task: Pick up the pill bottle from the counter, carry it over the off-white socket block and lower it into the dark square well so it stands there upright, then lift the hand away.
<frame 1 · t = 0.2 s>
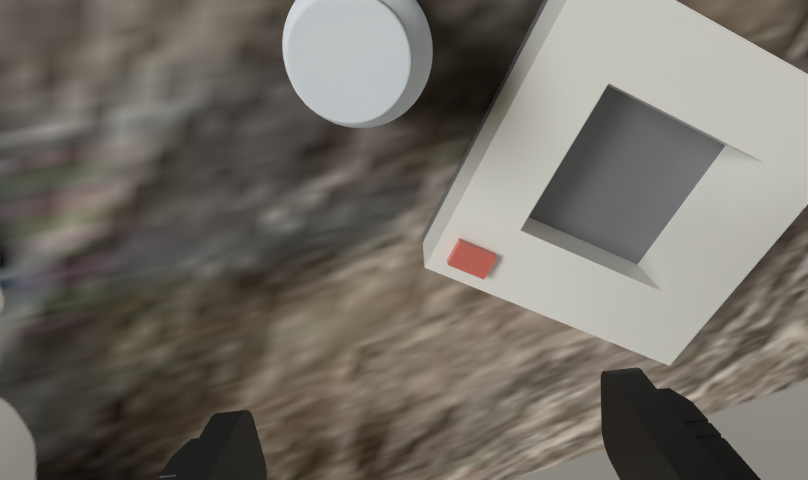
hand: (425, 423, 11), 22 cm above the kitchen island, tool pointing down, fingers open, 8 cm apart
socket block: (608, 172, 32), on the kitchen island
pill bottle: (370, 40, 29), on the kitchen island
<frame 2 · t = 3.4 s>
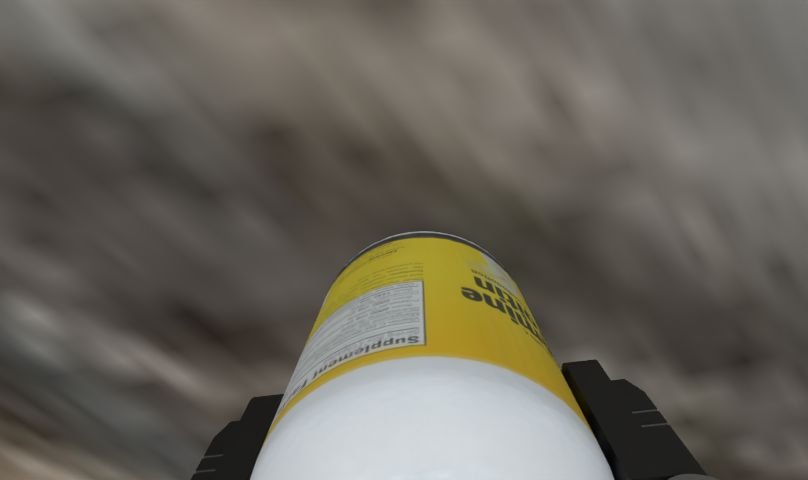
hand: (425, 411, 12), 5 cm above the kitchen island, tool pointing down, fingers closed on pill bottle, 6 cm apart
pill bottle: (422, 316, 16), on the kitchen island, touching gripper
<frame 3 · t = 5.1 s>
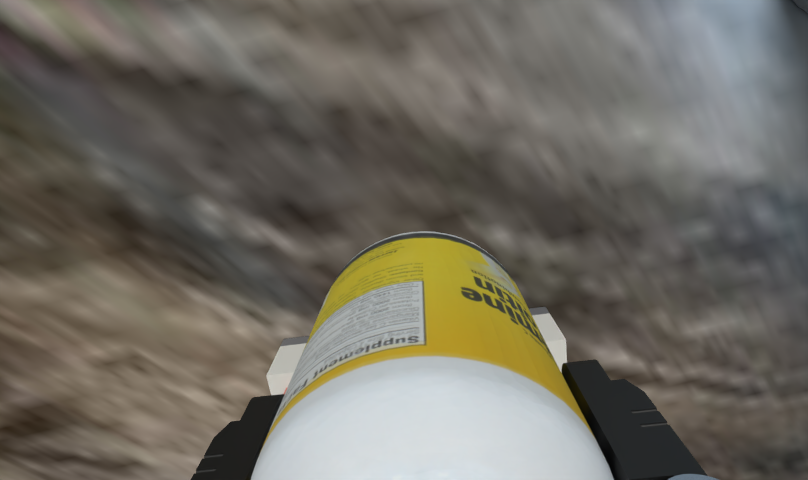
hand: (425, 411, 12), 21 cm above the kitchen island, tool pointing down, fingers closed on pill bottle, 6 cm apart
socket block: (429, 432, 36), on the kitchen island
pill bottle: (422, 316, 16), point 16 cm above the kitchen island, touching gripper
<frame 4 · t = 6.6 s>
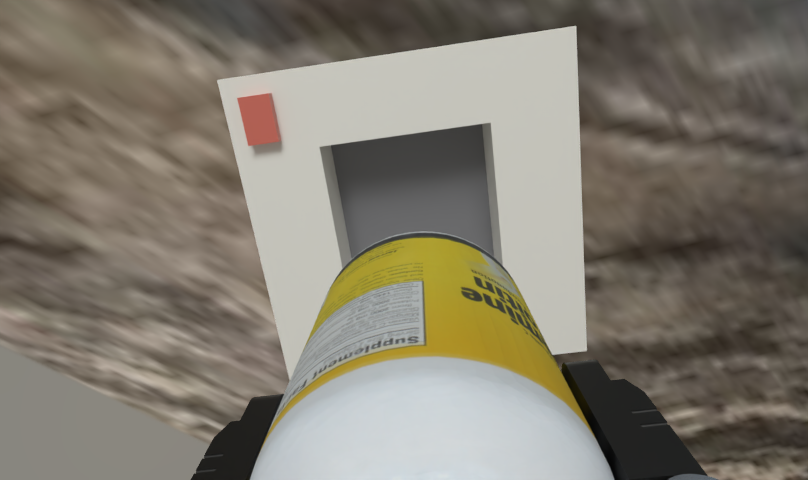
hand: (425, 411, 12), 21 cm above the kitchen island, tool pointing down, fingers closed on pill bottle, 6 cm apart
socket block: (416, 206, 31), on the kitchen island
pill bottle: (422, 316, 16), point 16 cm above the kitchen island, touching gripper
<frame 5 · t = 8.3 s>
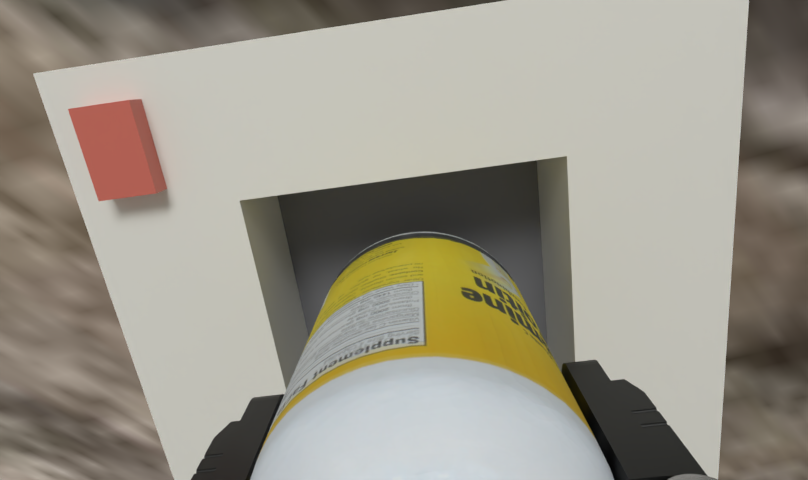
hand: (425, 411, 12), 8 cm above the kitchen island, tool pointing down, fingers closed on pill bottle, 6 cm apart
socket block: (420, 283, 19), on the kitchen island
pill bottle: (422, 316, 16), point 3 cm above the kitchen island, touching gripper
when the fingers open (6 cm above the kitchen island, at t = 9.7 s): pill bottle stays where it is, resting on socket block.
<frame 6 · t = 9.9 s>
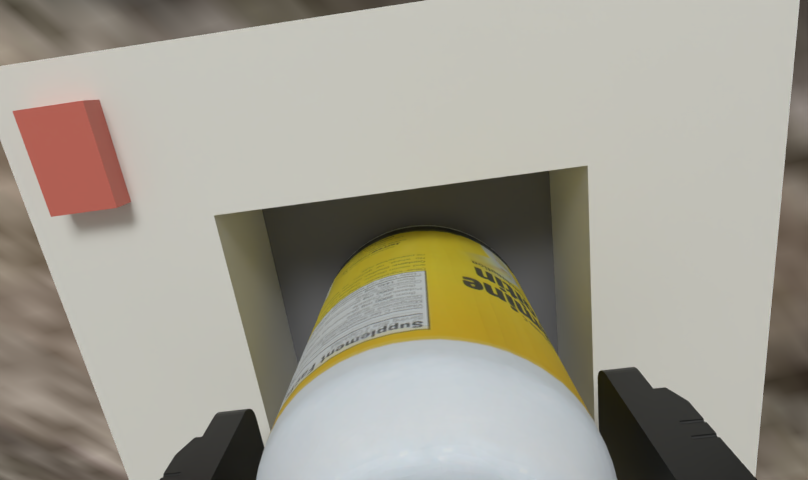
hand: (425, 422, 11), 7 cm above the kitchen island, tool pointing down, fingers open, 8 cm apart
socket block: (420, 301, 18), on the kitchen island
pill bottle: (423, 308, 17), point 1 cm above the kitchen island, touching socket block
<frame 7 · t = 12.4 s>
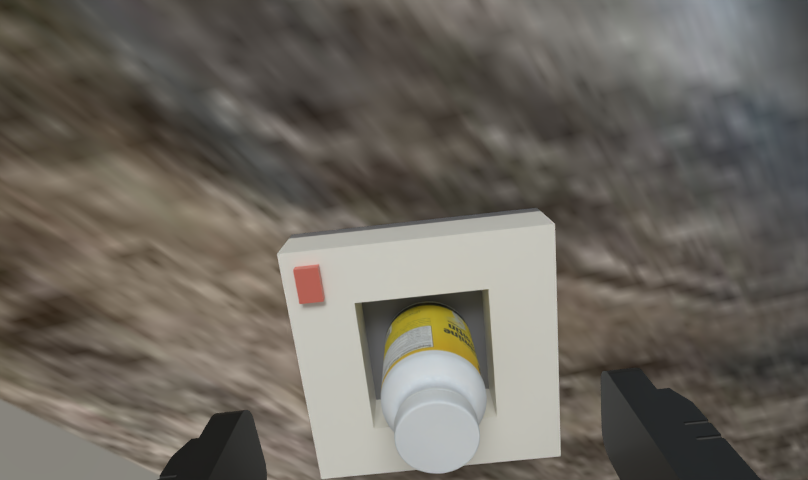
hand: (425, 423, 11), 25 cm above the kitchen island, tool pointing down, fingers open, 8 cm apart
socket block: (425, 331, 39), on the kitchen island
pill bottle: (427, 335, 38), point 1 cm above the kitchen island, touching socket block
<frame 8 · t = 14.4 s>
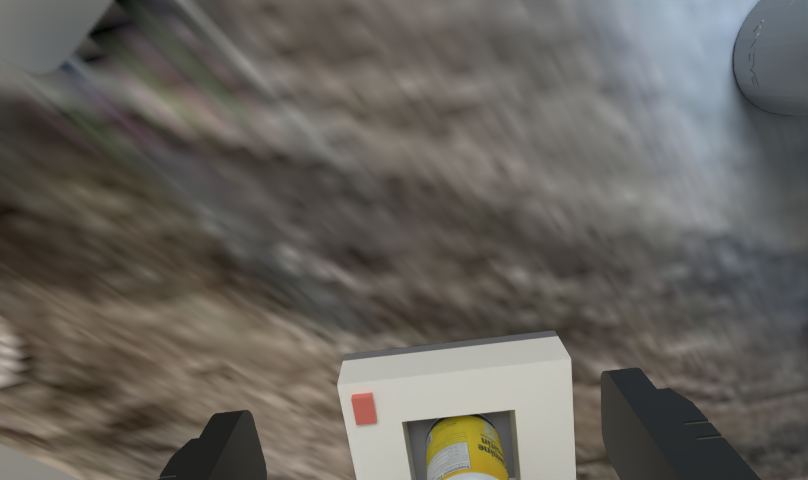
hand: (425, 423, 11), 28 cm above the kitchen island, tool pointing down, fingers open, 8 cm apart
socket block: (459, 430, 45), on the kitchen island
pill bottle: (461, 435, 44), point 1 cm above the kitchen island, touching socket block
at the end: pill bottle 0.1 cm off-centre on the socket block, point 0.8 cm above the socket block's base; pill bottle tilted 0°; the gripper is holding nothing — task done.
